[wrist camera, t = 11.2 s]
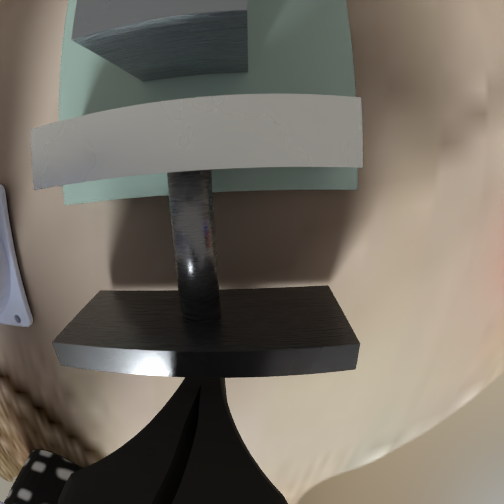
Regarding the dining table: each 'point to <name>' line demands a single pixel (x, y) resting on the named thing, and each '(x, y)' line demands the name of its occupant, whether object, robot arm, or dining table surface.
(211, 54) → the steel block
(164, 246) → the dining table surface
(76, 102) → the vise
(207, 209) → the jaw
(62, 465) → the white-spotted black cylinder
